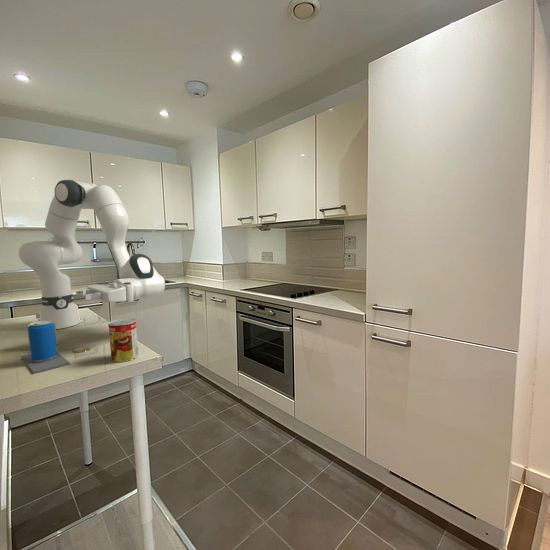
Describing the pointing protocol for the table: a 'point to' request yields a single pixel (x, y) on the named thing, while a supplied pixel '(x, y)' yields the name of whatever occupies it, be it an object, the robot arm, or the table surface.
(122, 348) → the canned food
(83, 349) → the tan flat disc
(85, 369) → the table surface
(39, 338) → the beverage can
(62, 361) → the charcoal mat
